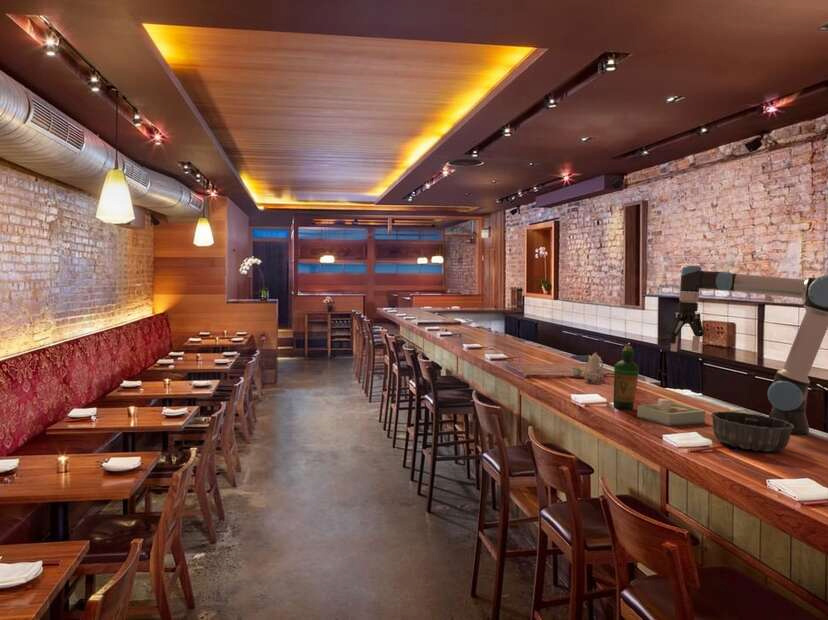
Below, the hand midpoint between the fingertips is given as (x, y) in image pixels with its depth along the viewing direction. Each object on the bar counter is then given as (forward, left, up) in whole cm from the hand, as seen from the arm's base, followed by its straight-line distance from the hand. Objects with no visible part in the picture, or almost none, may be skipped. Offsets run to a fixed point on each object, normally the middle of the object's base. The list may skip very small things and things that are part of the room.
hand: (684, 351), depth 262 cm
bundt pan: (-41, +14, -29) cm, 52 cm away
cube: (-6, +9, -28) cm, 30 cm away
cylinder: (0, +9, -28) cm, 29 cm away
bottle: (+20, +12, -29) cm, 37 cm away
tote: (-3, +9, -29) cm, 30 cm away
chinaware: (+85, -30, -29) cm, 94 cm away
